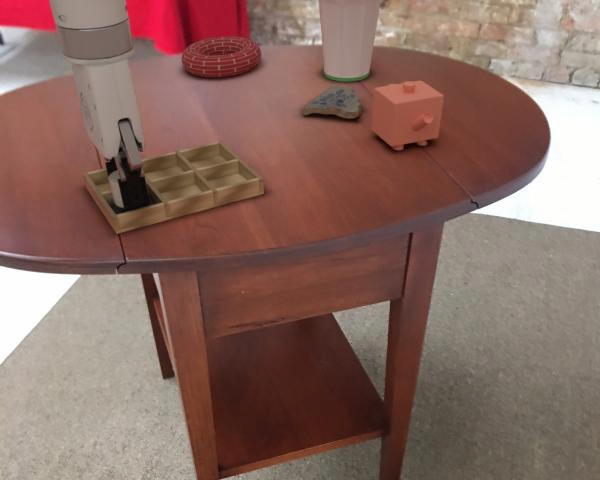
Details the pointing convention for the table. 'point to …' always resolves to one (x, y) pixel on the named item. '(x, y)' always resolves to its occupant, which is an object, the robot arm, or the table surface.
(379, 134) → the pink cube teapot
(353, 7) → the cup
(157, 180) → the compartment tray
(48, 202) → the table surface
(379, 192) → the table surface
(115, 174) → the grey squat cylinder
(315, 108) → the ceramic fragment
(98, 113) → the robot arm
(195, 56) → the torus
